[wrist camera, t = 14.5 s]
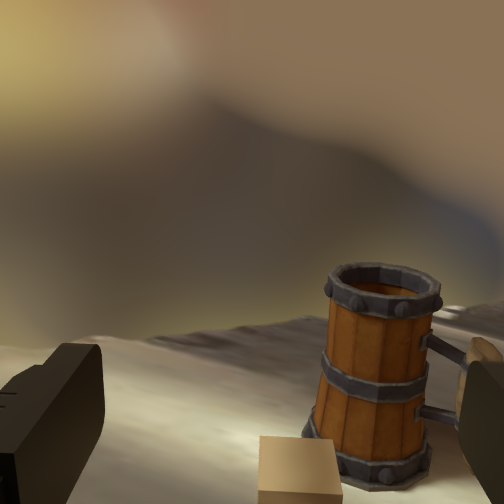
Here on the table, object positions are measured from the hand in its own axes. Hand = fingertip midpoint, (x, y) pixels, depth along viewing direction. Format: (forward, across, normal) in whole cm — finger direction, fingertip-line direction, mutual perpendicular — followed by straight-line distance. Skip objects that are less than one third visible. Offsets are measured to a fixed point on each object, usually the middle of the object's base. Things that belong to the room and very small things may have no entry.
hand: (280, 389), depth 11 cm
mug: (+36, -14, +30) cm, 49 cm away
